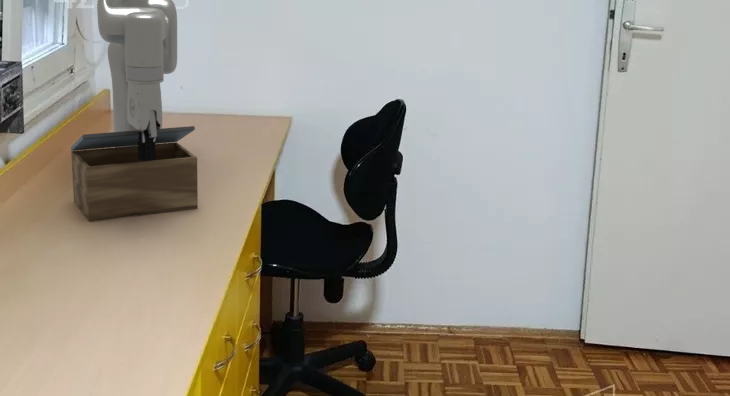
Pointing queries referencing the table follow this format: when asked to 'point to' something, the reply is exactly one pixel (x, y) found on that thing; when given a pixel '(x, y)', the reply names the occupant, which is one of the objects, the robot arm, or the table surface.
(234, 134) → the table surface
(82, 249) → the table surface
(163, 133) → the lid flap
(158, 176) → the wooden box
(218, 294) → the table surface
